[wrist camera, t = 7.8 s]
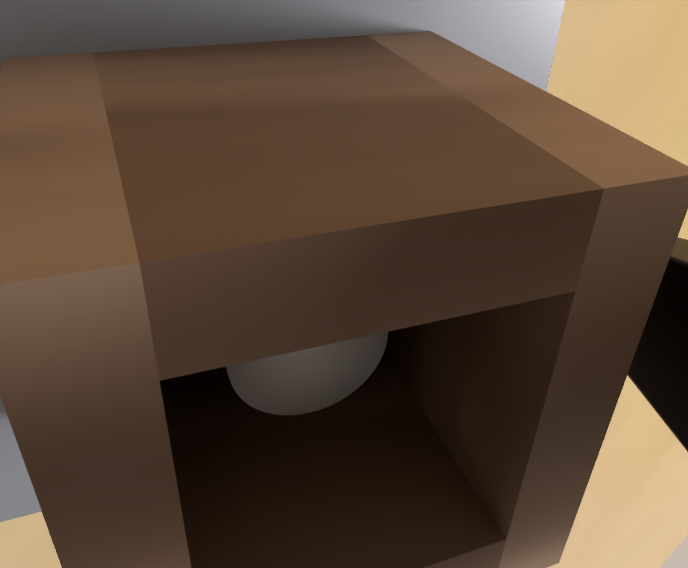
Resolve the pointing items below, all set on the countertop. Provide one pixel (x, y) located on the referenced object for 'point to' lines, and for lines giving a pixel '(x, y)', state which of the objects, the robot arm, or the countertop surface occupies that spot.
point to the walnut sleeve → (316, 300)
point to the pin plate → (263, 26)
